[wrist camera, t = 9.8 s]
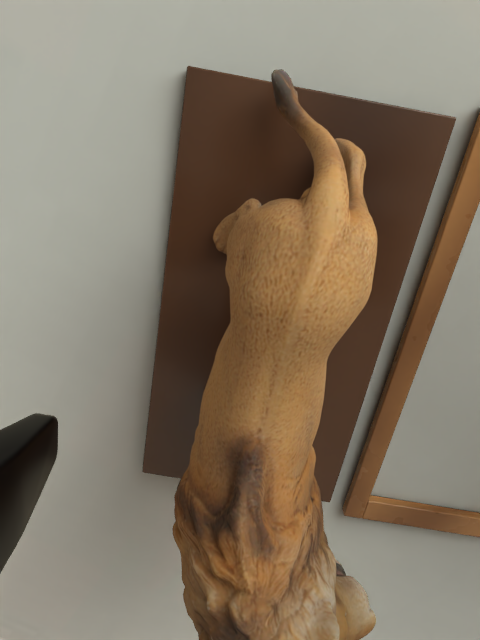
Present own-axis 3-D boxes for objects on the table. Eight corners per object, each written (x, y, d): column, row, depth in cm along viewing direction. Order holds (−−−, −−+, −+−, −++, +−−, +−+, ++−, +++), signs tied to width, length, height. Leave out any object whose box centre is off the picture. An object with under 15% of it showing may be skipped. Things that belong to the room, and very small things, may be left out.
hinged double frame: (731, 152, 13) (744, 152, 13) (515, 536, 19) (520, 544, 19) (190, 47, 13) (189, 44, 12) (142, 476, 19) (140, 483, 18)
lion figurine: (331, 478, 18) (398, 769, 10) (202, 477, 18) (158, 761, 10) (365, 71, 12) (588, -73, 4) (179, 74, 13) (32, -56, 4)
